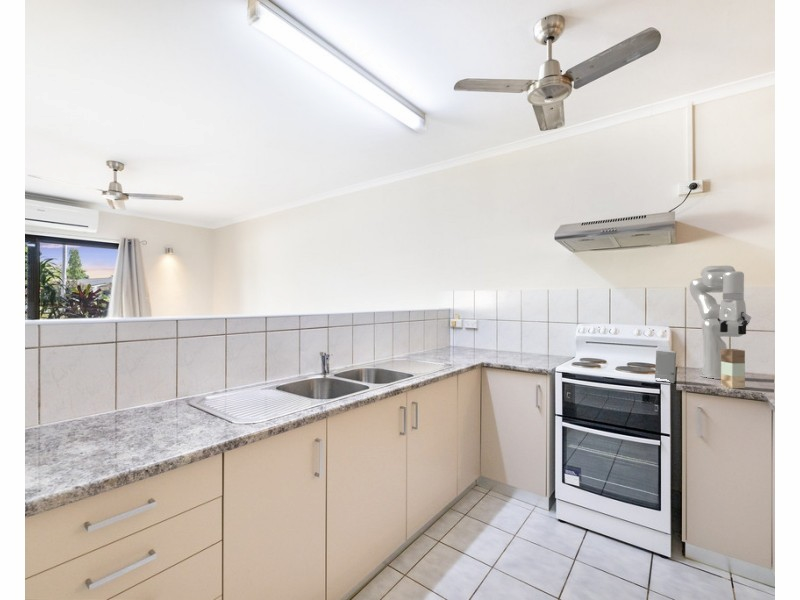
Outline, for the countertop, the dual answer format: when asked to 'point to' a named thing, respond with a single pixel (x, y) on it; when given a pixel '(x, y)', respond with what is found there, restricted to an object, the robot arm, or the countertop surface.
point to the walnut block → (732, 356)
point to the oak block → (733, 381)
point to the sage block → (733, 369)
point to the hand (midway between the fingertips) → (732, 333)
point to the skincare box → (665, 365)
